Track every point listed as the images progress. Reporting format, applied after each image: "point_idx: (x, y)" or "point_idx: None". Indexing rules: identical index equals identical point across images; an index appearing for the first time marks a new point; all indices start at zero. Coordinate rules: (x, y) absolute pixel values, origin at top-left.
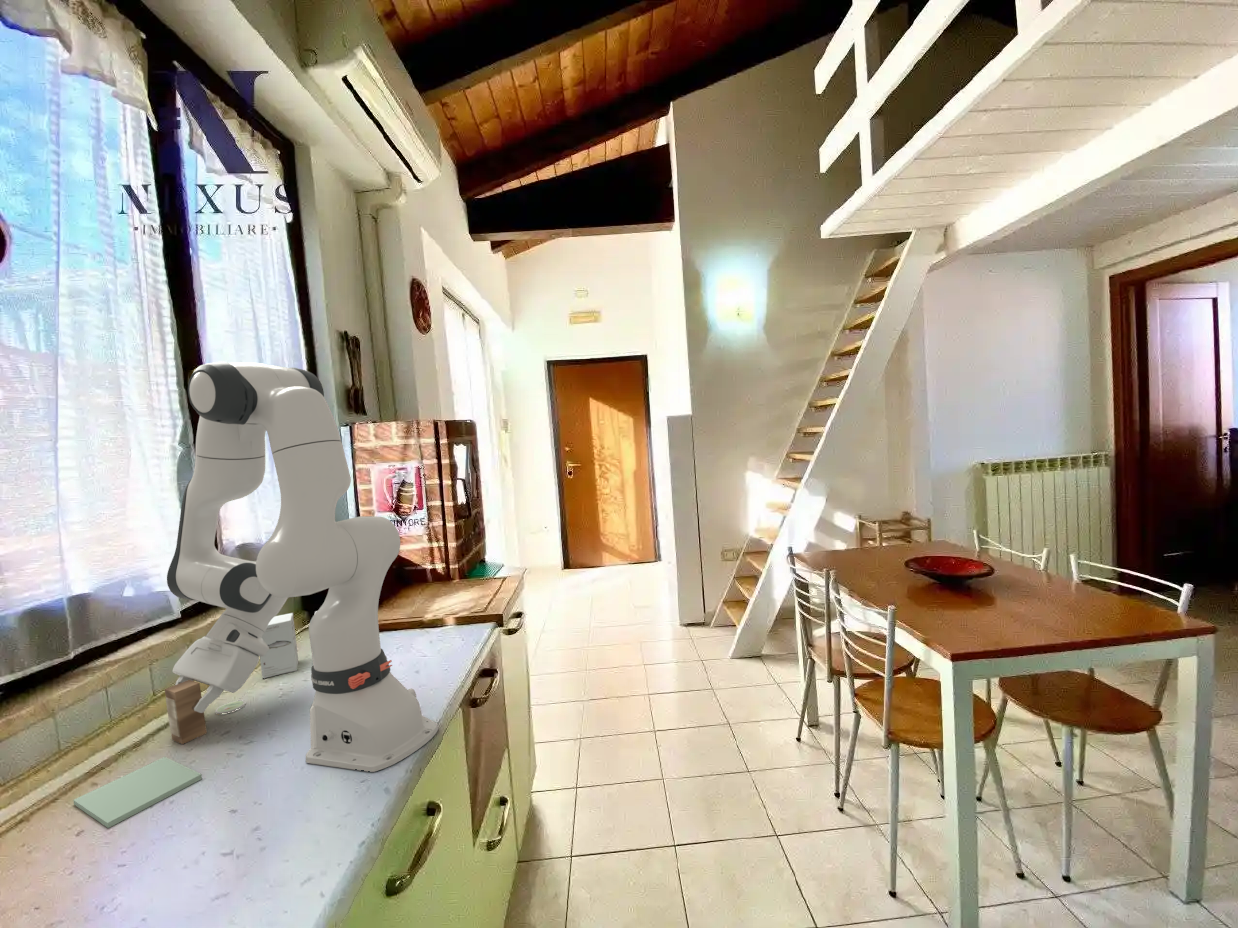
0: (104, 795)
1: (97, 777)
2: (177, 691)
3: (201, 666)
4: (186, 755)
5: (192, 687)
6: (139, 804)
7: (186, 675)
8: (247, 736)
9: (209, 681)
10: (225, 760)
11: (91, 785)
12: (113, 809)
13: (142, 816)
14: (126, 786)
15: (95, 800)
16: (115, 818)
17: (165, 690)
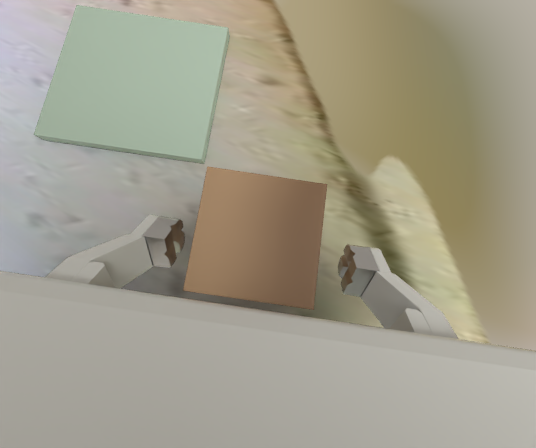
0: (179, 47)
1: (293, 95)
2: (206, 180)
3: (248, 413)
4: (178, 190)
5: (193, 251)
6: (69, 45)
7: (364, 326)
8: None
9: (44, 285)
10: (55, 198)
11: (271, 77)
12: (108, 27)
13: (54, 45)
14: (165, 73)
15: (177, 34)
16: (74, 14)
17: (317, 184)
